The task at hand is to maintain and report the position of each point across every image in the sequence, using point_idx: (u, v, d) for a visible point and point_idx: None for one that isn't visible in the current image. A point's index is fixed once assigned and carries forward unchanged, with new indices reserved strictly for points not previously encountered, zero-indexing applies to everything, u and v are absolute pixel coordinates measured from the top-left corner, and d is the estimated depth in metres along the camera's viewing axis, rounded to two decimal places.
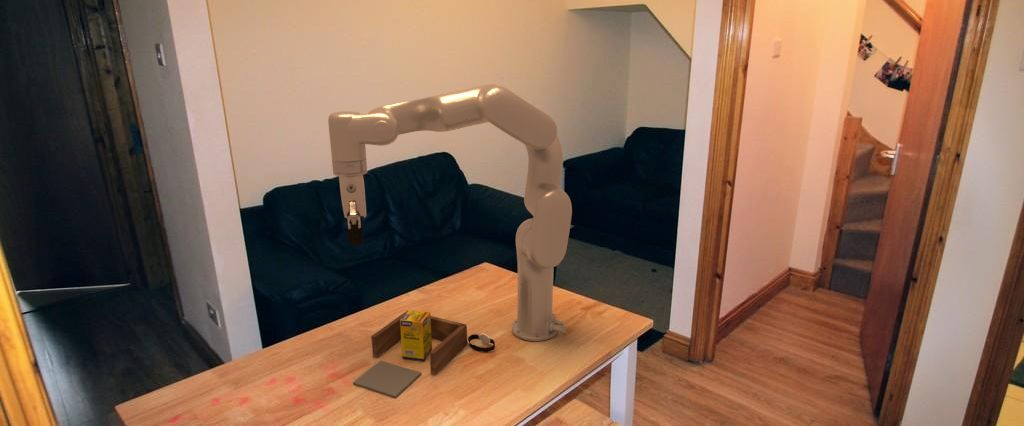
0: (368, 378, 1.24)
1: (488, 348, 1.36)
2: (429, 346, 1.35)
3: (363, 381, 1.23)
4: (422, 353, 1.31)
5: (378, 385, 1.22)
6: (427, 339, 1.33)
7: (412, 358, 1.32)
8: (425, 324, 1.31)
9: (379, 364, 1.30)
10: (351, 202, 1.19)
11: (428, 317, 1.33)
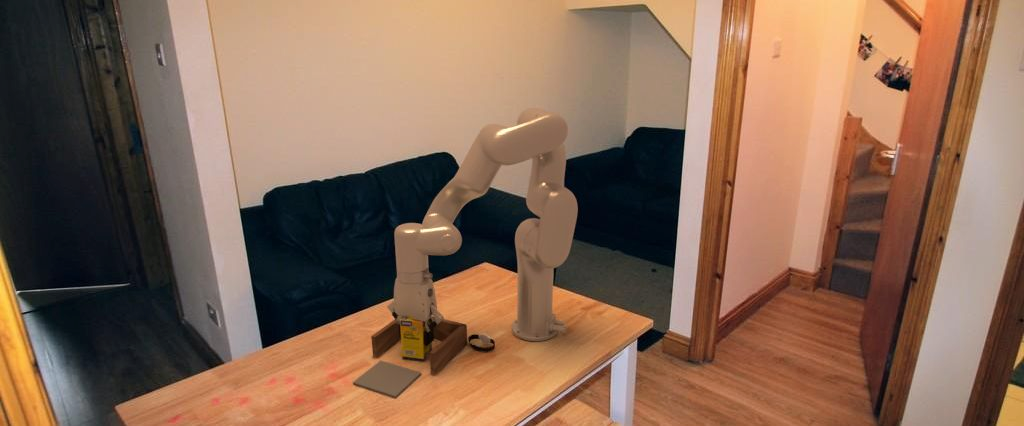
0: (368, 378, 1.24)
1: (488, 348, 1.36)
2: (429, 346, 1.35)
3: (363, 381, 1.23)
4: (422, 353, 1.31)
5: (378, 385, 1.22)
6: None
7: (412, 358, 1.32)
8: None
9: (379, 364, 1.30)
10: (431, 306, 1.29)
11: None
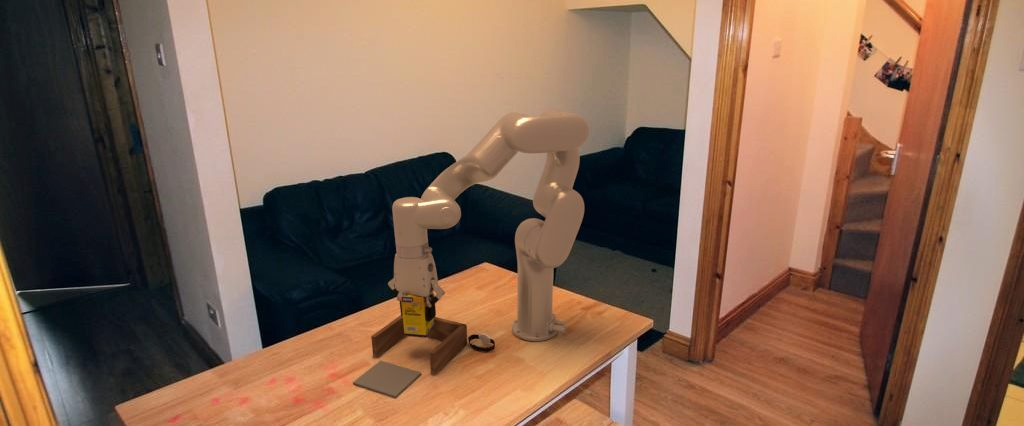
0: (368, 378, 1.24)
1: (488, 348, 1.36)
2: (431, 323, 1.33)
3: (363, 381, 1.23)
4: (424, 329, 1.30)
5: (378, 385, 1.22)
6: None
7: (414, 335, 1.31)
8: None
9: (379, 364, 1.30)
10: (432, 281, 1.27)
11: None
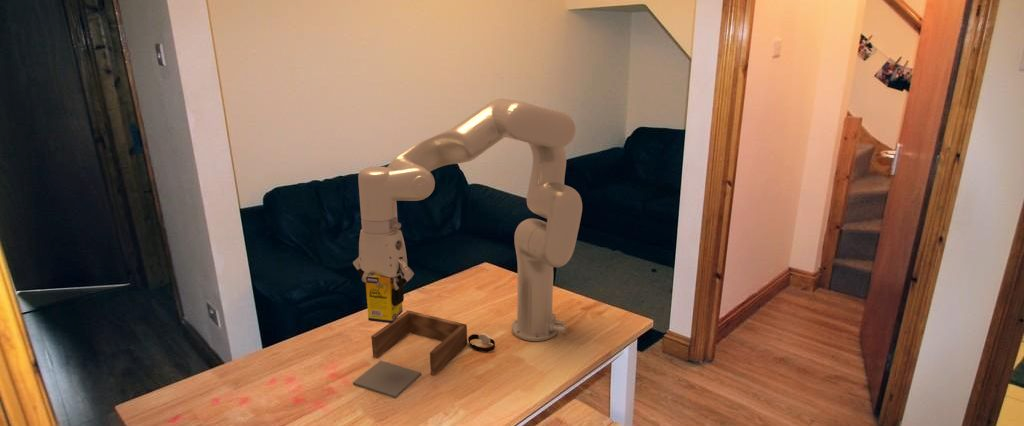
0: (368, 378, 1.24)
1: (488, 348, 1.36)
2: (399, 308, 1.21)
3: (363, 381, 1.23)
4: (390, 314, 1.17)
5: (378, 385, 1.22)
6: None
7: (379, 320, 1.18)
8: None
9: (379, 364, 1.30)
10: (400, 261, 1.15)
11: None
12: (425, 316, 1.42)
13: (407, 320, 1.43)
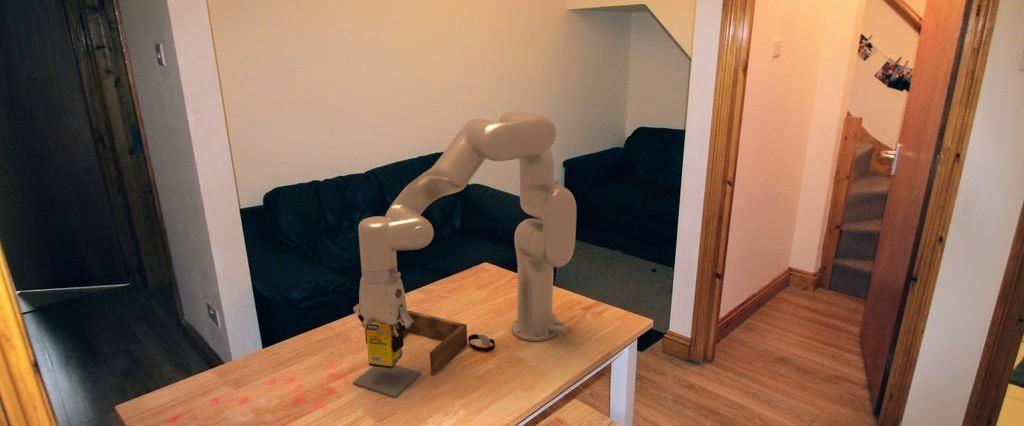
0: (368, 378, 1.24)
1: (488, 348, 1.36)
2: (399, 352, 1.23)
3: (363, 381, 1.23)
4: (390, 359, 1.19)
5: (378, 385, 1.22)
6: None
7: (379, 365, 1.20)
8: None
9: None
10: (400, 308, 1.17)
11: None
12: (425, 316, 1.42)
13: None
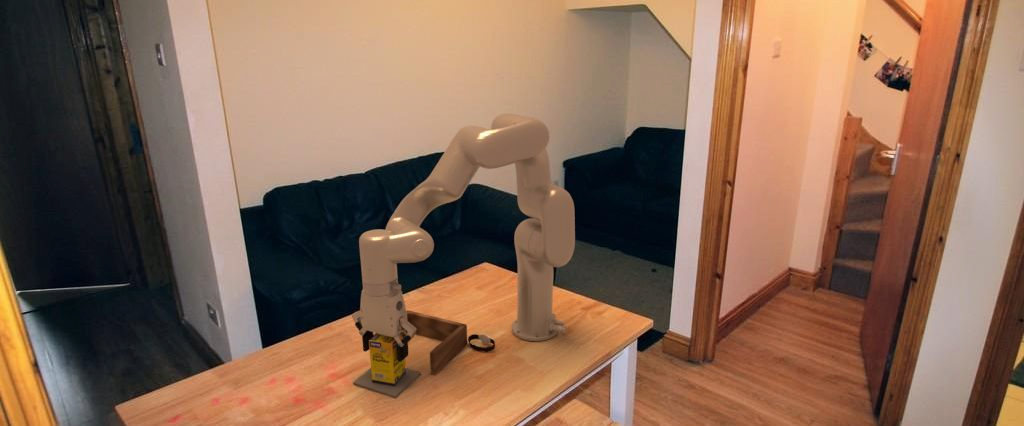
0: (368, 378, 1.24)
1: (488, 348, 1.36)
2: (402, 369, 1.24)
3: (363, 381, 1.23)
4: (393, 377, 1.20)
5: (378, 385, 1.22)
6: None
7: (382, 382, 1.22)
8: (396, 346, 1.20)
9: None
10: (401, 319, 1.18)
11: None
12: (425, 316, 1.42)
13: (407, 320, 1.43)
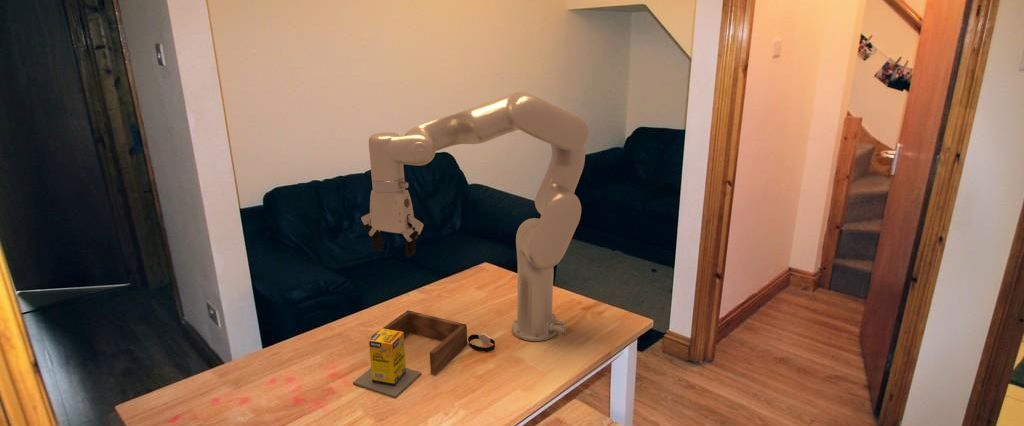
0: (368, 378, 1.24)
1: (488, 348, 1.36)
2: (402, 369, 1.24)
3: (363, 381, 1.23)
4: (393, 377, 1.20)
5: (378, 385, 1.22)
6: (400, 361, 1.23)
7: (382, 382, 1.22)
8: (395, 346, 1.20)
9: None
10: (408, 216, 1.27)
11: (400, 338, 1.22)
12: (425, 316, 1.42)
13: (407, 320, 1.43)
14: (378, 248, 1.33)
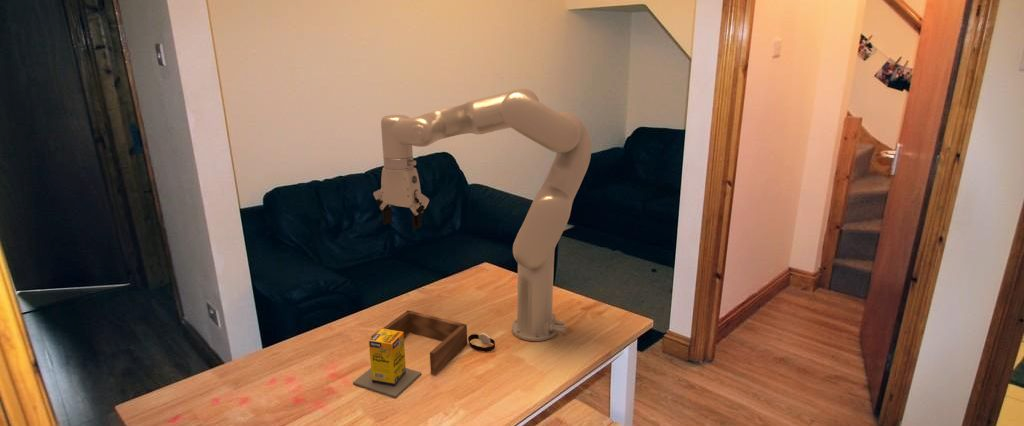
0: (368, 378, 1.24)
1: (488, 348, 1.36)
2: (402, 369, 1.24)
3: (363, 381, 1.23)
4: (393, 377, 1.20)
5: (378, 385, 1.22)
6: (400, 361, 1.23)
7: (382, 382, 1.22)
8: (396, 346, 1.20)
9: None
10: (415, 191, 1.39)
11: (400, 338, 1.22)
12: (425, 316, 1.42)
13: (407, 320, 1.43)
14: (388, 221, 1.46)
